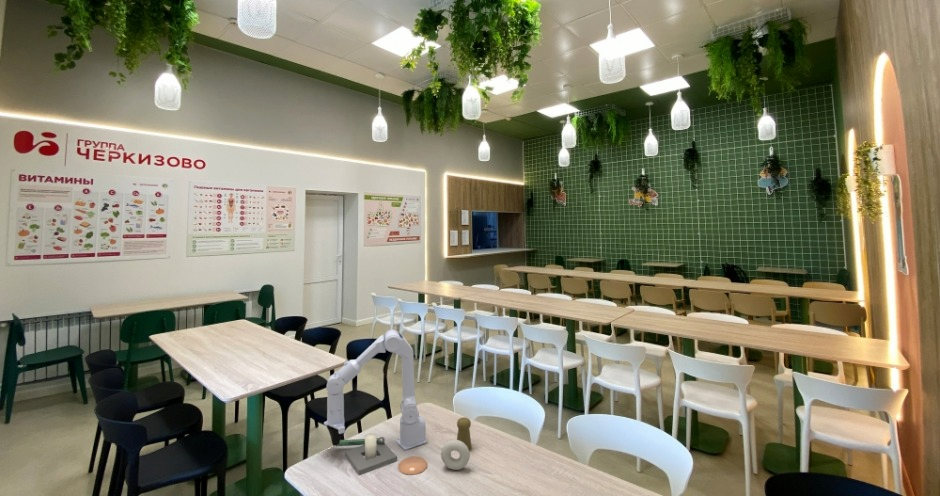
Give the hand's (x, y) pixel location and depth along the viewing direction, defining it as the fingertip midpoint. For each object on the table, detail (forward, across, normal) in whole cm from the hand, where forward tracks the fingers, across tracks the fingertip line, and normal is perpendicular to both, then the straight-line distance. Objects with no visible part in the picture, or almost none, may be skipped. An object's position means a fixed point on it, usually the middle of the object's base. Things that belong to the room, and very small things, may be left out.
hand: (335, 444), depth 141 cm
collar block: (+3, +11, +9) cm, 15 cm away
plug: (+3, +11, +9) cm, 15 cm away
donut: (+3, +34, +30) cm, 45 cm away
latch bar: (+1, +3, +8) cm, 9 cm away
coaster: (+3, +24, +19) cm, 31 cm away
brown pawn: (+3, +25, +40) cm, 47 cm away
